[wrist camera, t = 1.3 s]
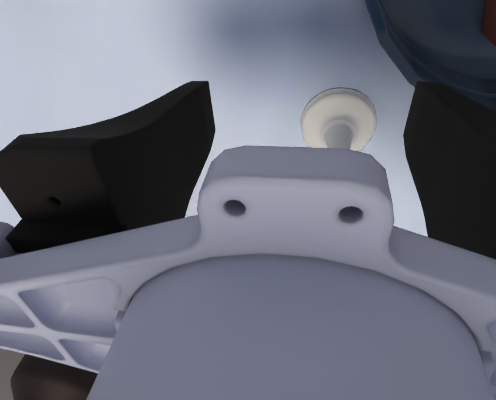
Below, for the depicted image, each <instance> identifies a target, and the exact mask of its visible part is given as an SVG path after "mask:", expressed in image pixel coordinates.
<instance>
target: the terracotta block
mask: <svg viewBox="0 0 496 400" xmlns="http://www.w3.org/2000/svg"><path fill="white" fill-rule="evenodd" d="M482 34H483V35H484V36H485V37H486V38H487V39H488V40H489V41H490V42H491V43H492V44H493V45H494V46H495V47H496V0H486V2H485V10H484V18H483V26H482Z"/></svg>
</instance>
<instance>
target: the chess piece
mask: <svg viewBox="0 0 496 400" xmlns="http://www.w3.org/2000/svg"><path fill="white" fill-rule="evenodd" d="M375 127H376V112H375V109H374V106H373V105H372V103H371V102H370V100H369V99H368V98H367V97H366V96H364V95H363V94H361V93H359V92H357V91H355V90H351V89H345V88H338V89H331V90H328V91H325V92H323V93H321V94H319V95H317V96H316V97H315V98H313V99H312V100H311V101H310V102H309V103H308V105H307V106H306V108H305V109H304V112H303V114H302V118H301V129H302V134H303V137H304V139H305V141H306V143H307V144H308V145H309V146H310V147H311V148H341V149H350V150H354V151H359V150H361V149H362V148H363V147H365V146H366V145H367V144H368V142H369V141H370V140H371V138H372V136H373V134H374V131H375Z"/></svg>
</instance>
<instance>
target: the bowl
mask: <svg viewBox="0 0 496 400" xmlns="http://www.w3.org/2000/svg"><path fill="white" fill-rule="evenodd" d="M485 2H486V0H365V3H366V6H367V9H368V12H369V14H370V17H371V20H372V23H373V26H374V29H375V32H376V35H377V38H378V40H379V43H380V45H381V46H382V48H383V49H384V50H385V52H386V53H387V54H388V56H389V57H390V58H391V60H392V61H393V62H394V64H395V65H396V66H397V68H398V69H399V70H400V72H401V73H402V74H403V76H404V77H405V78H406V80H407V81H408V82H409V83H410V84H411V85H413V86H414V87H416V83H417V81H432V82H440V83H442V84H445V85H447V86H449V87H451V88H453V89H454V90H456V91H458V92H460V93H462V94H464V95H465V96H467V97H469V98H471V99H473V100H475V101H476V102H478V103H480V104H482V105H484V106H486V107H488V108H490V109H492V110H495V111H496V47H495V46H494V45H493V44H492V43H491V42H490V41H489V40H488V39H487V38H486V37H485V36H484V35H483V34H482V26H483V18H484V10H485Z"/></svg>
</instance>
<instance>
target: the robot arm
mask: <svg viewBox="0 0 496 400" xmlns="http://www.w3.org/2000/svg"><path fill="white" fill-rule="evenodd" d="M214 134H215V124H214V117H213V110H212V103H211V96H210V89H209V82H208V81H191V82H188V83H186V84H184V85H182V86H180V87H178V88H176V89H174V90H172V91H171V92H169V93H167V94H165V95H163V96H162V97H160V98H158V99H156V100H154V101H152V102H150V103H148V104H146V105H144V106H142V107H140V108H138V109H135V110H133V111H131V112H128V113H126V114H123V115H120V116H118V117H115V118H112V119H108V120H105V121H101V122H97V123H94V124H90V125H86V126H81V127H77V128H71V129H66V130H60V131H53V132H44V133H34V134H24V135H19V136H18V137H17V138H16V139H14V140H13V141H12V142H11V143H10V144H9V145H7V146H6V147H5V148H4V149H3V150H2V151H0V187H1V189H2V190H3V192H4V193H5V195H6V196H7V198H8V199H9V201H10V202H11V204H12V205H13V206H14V208H15V209H16V211H17V212H18V214H19V215H20V217H21V218H22V220H21V221H20V222H19V223H18V224H17V225H16V226H15V228H14V227H13V226H12V225H10V224H8V223H4V222H0V348H2V349H7V350H11V351H17V352H20V353H24V354H28V355H32V356H36V357H40V358H44V359H47V360H51V361H55V362H58V363H62V364H66V365H69V366H73V367H77V368H80V369H84V370H88V371H91V372H95V373H98V375H97V377H96V379H95V382H94V384H93V386H92V388H91V390H90V393H89V395H88V397H87V399H86V400H496V111H495V110H492V109H490V108H488V107H486V106H484V105H482V104H480V103H478V102H476V101H475V100H473V99H471V98H469V97H467V96H465V95H464V94H462V93H460V92H458V91H456V90H454V89H453V88H451V87H449V86H447V85H445V84H442V83H440V82H432V81H417V83H416V87H415V91H414V95H413V99H412V102H411V106H410V110H409V114H408V118H407V122H406V126H405V130H404V134H403V137H404V146H405V153H406V158H407V161H408V165H409V168H410V171H411V174H412V177H413V180H414V183H415V186H416V189H417V192H418V195H419V198H420V201H421V204H422V208H423V212H424V217H425V222H426V228H427V234H428V237H426V236H423V235H420V234H417V233H414V232H411V231H408V230H404V229H401V228H398V227H395V226H393V224H394V214H393V204H392V199H391V194H390V189H389V185H388V180H387V175H386V170H385V168H384V167H383V166H382V165H380V164H379V163H378V162H377V161H376V160H375V159H374V158H373V157H372V156H371V155H370V154H366V153H362V152H358V151H354V150H350V149H341V148H309V147H276V146H241V147H236V148H232V149H227V150H224V151H223V152H222V153H221V154H220V155H219V156H218V157H216V158H215V159H214V160H213V161H212V162H211V164H210V167H209V169H208V172H207V174H206V177H205V179H204V182H203V185H202V187H201V190H200V192H199V199H198V206H197V212H198V215H195V216H190V217H186V218H185V214H186V211H187V207H188V204H189V200H190V198H191V195H192V192H193V190H194V188H195V185H196V183H197V181H198V178H199V176H200V174H201V172H202V169H203V167H204V165H205V162H206V160H207V158H208V155H209V153H210V150H211V147H212V143H213V139H214Z"/></svg>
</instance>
